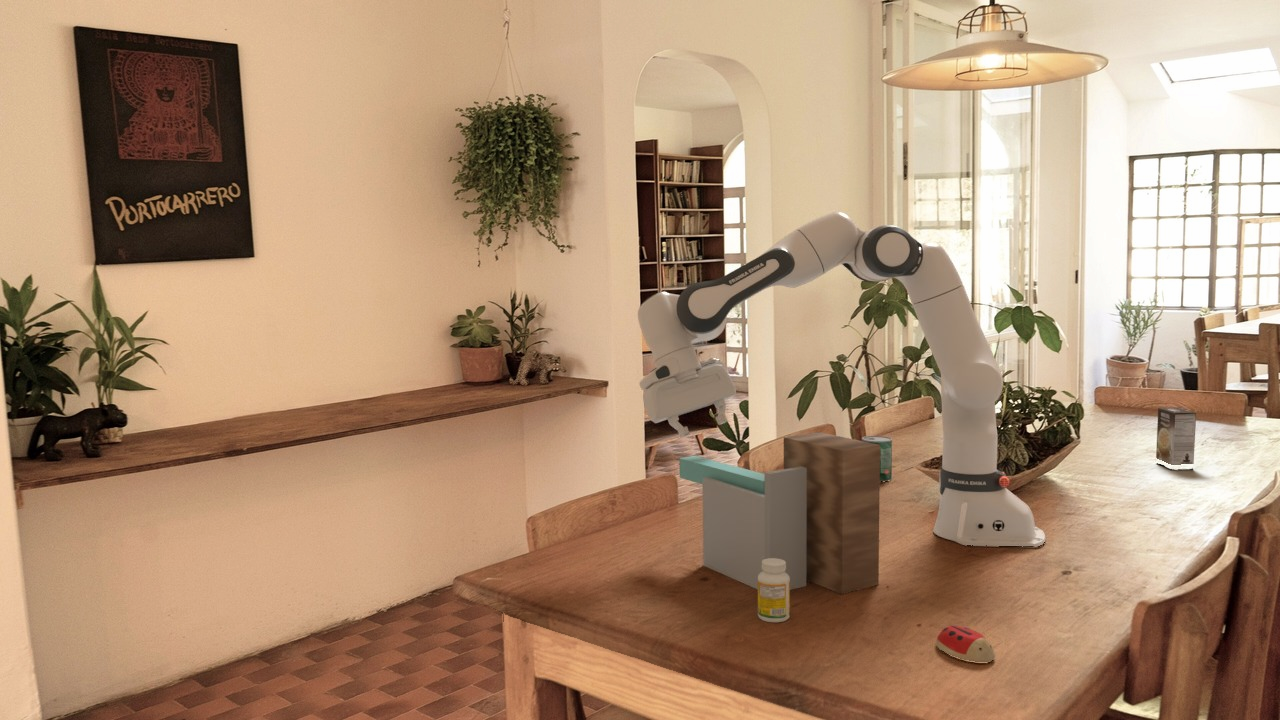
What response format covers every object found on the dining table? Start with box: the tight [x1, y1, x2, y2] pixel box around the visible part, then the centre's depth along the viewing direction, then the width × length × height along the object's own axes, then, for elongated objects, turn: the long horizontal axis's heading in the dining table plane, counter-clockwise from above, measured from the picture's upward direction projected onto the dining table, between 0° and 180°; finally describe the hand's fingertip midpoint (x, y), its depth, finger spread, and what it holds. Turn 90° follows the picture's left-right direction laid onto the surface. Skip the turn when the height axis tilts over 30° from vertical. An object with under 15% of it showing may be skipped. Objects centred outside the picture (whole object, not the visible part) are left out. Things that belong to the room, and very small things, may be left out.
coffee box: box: [1155, 406, 1197, 465], centre depth 273 cm, size 9×6×16 cm
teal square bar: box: [678, 455, 765, 495], centre depth 192 cm, size 26×4×4 cm, turn 34°
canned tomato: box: [861, 435, 893, 483], centre depth 265 cm, size 8×8×11 cm
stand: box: [783, 431, 881, 595], centre depth 184 cm, size 16×9×26 cm, turn 32°
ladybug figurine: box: [935, 625, 996, 662], centre depth 150 cm, size 7×10×4 cm
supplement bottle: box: [757, 558, 791, 623], centre depth 165 cm, size 5×5×10 cm
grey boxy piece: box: [702, 467, 807, 591], centre depth 186 cm, size 20×8×22 cm, turn 32°
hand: (704, 429), depth 203 cm, fingers open, 8 cm apart
